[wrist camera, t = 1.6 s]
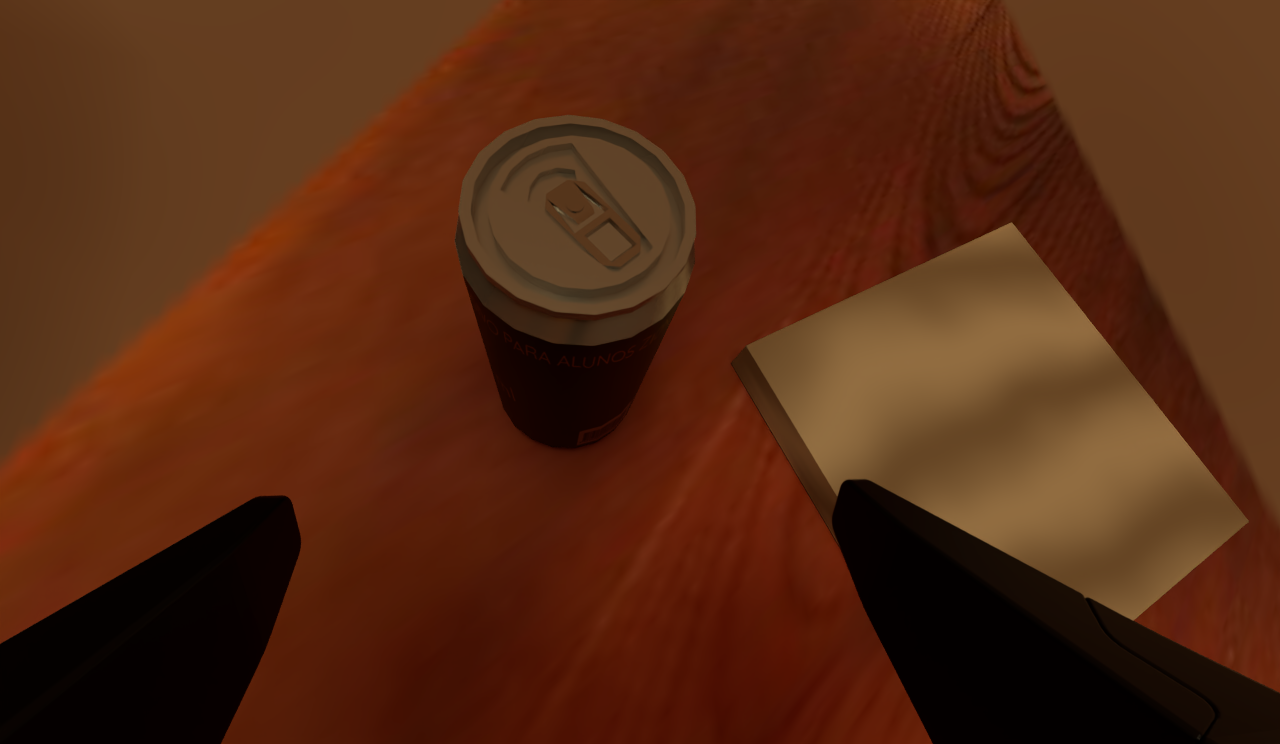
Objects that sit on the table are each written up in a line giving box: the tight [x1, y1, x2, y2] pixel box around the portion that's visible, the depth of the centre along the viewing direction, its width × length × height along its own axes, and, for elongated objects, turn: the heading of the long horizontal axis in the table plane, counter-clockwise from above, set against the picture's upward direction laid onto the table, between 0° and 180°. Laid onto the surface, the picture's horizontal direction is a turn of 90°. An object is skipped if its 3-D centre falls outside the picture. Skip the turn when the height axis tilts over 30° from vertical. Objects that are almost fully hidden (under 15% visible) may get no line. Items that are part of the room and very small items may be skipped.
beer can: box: [455, 115, 696, 448], centre depth 17 cm, size 5×5×12 cm
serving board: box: [731, 223, 1249, 620], centre depth 23 cm, size 16×16×2 cm
